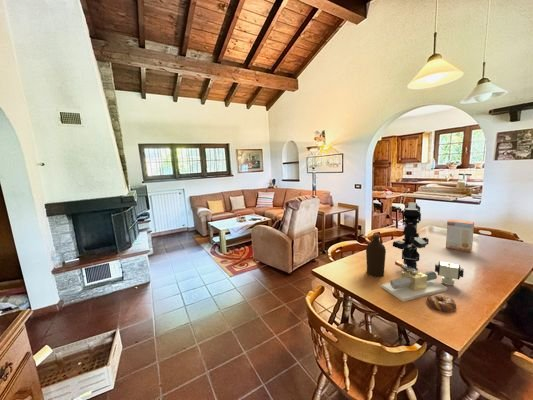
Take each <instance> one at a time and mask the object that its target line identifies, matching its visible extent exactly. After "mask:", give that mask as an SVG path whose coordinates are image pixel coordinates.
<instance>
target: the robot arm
mask: <svg viewBox="0 0 533 400" xmlns="http://www.w3.org/2000/svg"><path fill="white" fill-rule="evenodd" d="M421 221H422V213H421V207H420V206H419V204H418V203H417V202H413V201H412V202H407V205H405V206H404V210H403V211H402V223H404V226H403V231H402V234H403V235H404V236H403V237H404V238H402V240H395V241H393V242H392V247H394V248H396V249H399V250H401V259H402V260H403V263H405V265H407V266H410V267H412V268H414V269H416V270H417V271H419V270H418V269H419V268H418V264H417V262H419V261H420V253H419V251H418V249H424V248H426V246H427V245H429V238H428V237H420V234H419V233H418V230H417V229H418V224H420V222H421ZM401 268H402V269H404V270H405V271H406V270H407V269H405V268H403V267H401Z"/></svg>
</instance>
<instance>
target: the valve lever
mask: <svg viewBox="0 0 533 400" xmlns="http://www.w3.org/2000/svg"><path fill="white" fill-rule="evenodd" d="M394 263H395V264H394V265H395V266H397V267H400V268H402V267H403V268H402V269H404V268H405V269H404V270H406V269H407V270H409V271H411V273H412V274H417V271H418V270H417V271H416V269H414V268H412V267H410V266H407V265H405V263H404V261H403V262H402V261H401V260H397V261H396V260H395V262H394Z"/></svg>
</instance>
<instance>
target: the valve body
mask: <svg viewBox="0 0 533 400" xmlns="http://www.w3.org/2000/svg"><path fill="white" fill-rule="evenodd" d="M416 271H417V274H412V273H411V271H409V270H406V269H405V270H402V271H401V277H400V278H396V279H392V280H389V281H390V282H389V283H390V284H391V286H392V288H394V289H398V288H402V287H408V288H409V289H411V290H413V291H418V290H422V289H426V288H427V281H431V280H433V281H435V280H436V279H437V278H438V274H437V272H435V271H432V270H430V271H425V272H421V271H419V270H416Z"/></svg>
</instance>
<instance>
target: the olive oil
mask: <svg viewBox="0 0 533 400" xmlns="http://www.w3.org/2000/svg"><path fill="white" fill-rule="evenodd" d="M386 250H387V249H386V247H385V244H383V243H382V242H381V241H380V233H373V234H372V240H371V241H370V242H368V243H367V245H366V247H365V254H366V255H365V257H366V273H367V275H369V276H371V277H374V278H383V277H384V276H385V263H386V253H387V251H386Z"/></svg>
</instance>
